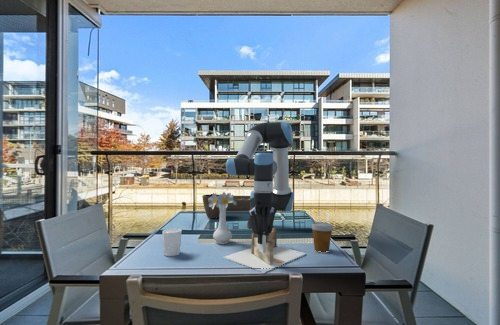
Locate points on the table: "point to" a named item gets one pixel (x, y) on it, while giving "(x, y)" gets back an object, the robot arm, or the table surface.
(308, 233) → the table surface
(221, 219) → the flower vase
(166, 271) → the table surface
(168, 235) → the white cup
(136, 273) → the table surface
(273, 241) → the fixed fence section
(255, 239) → the hinged fence panel
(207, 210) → the plant pot
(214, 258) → the table surface
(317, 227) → the disposable coffee cup
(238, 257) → the board
